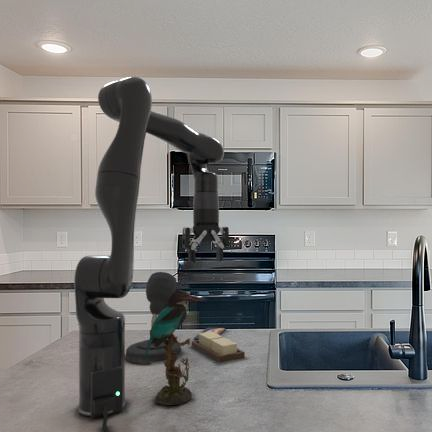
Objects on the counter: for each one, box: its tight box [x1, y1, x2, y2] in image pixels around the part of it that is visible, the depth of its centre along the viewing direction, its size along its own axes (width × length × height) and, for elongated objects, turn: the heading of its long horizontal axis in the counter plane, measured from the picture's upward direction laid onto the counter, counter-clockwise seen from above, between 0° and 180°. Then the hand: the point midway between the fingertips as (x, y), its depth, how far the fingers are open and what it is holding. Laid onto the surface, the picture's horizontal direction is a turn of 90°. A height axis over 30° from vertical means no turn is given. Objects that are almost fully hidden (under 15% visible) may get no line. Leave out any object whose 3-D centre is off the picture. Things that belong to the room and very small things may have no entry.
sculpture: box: [143, 289, 205, 406], centre depth 103 cm, size 8×14×25 cm, turn 86°
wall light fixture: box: [125, 271, 182, 365], centre depth 138 cm, size 16×25×20 cm
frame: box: [191, 340, 246, 363], centre depth 137 cm, size 20×8×2 cm, turn 35°
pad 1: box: [198, 331, 224, 350], centre depth 141 cm, size 8×4×4 cm, turn 35°
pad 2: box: [211, 337, 238, 356], centre depth 134 cm, size 8×4×4 cm, turn 35°
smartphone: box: [193, 327, 227, 341], centre depth 157 cm, size 8×1×15 cm
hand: (206, 261), depth 134 cm, fingers open, 8 cm apart
